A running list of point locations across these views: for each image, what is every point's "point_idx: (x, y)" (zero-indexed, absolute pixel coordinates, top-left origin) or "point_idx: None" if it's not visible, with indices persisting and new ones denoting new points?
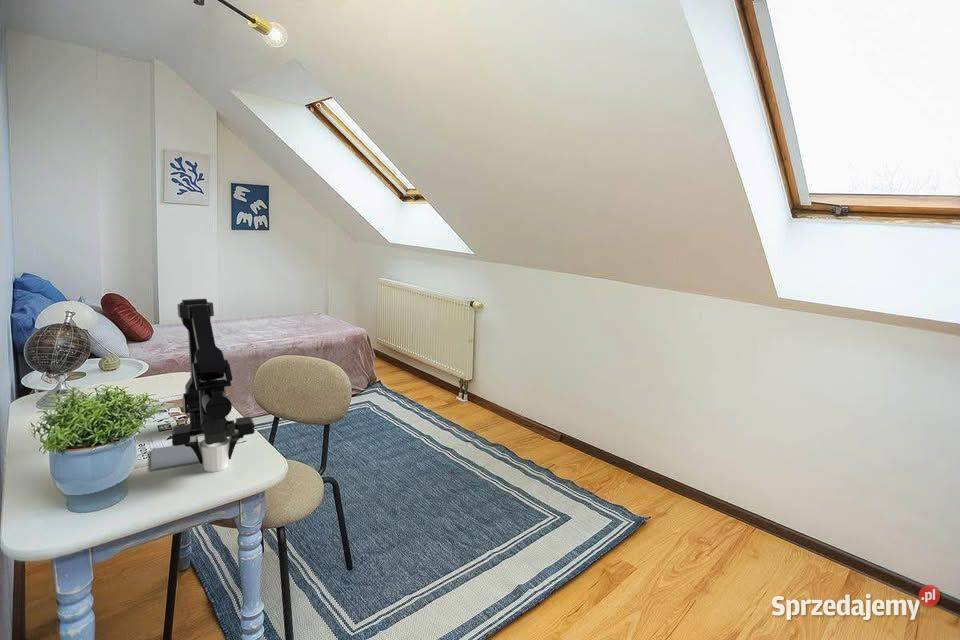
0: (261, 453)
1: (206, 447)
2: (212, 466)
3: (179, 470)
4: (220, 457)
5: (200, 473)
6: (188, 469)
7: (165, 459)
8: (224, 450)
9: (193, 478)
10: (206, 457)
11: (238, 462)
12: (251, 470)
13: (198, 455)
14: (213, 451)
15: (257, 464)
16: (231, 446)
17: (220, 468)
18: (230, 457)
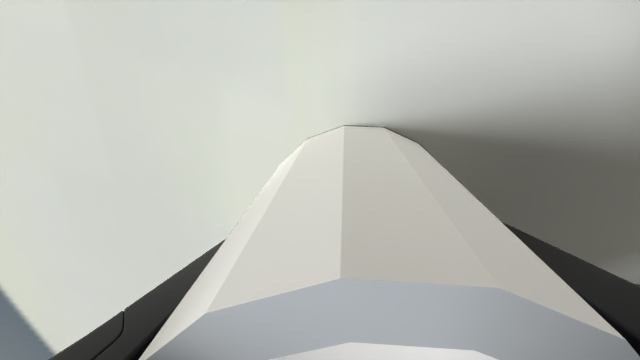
0: (62, 298)
1: (593, 352)
2: (391, 139)
3: (628, 233)
4: (299, 181)
5: (485, 133)
6: (560, 228)
7: None
8: (220, 258)
9: (562, 51)
10: (485, 210)
11: (193, 224)
12: (49, 50)
13: (592, 275)
14: (407, 226)
15: (34, 149)
16: (129, 335)
17: (318, 140)
18: (223, 242)
